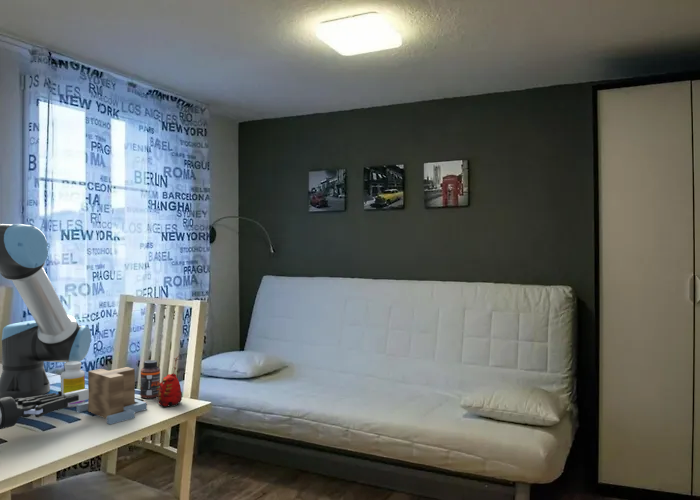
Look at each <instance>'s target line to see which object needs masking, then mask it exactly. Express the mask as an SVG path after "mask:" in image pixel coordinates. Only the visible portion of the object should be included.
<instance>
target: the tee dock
mask: <svg viewBox="0 0 700 500" xmlns="http://www.w3.org/2000/svg"><path fill="white" fill-rule="evenodd" d="M147 404H148V403H147V402H146V401H143V400H140V399H137V398H135V404H133V405H129V406H125V407H124V412H121V413H117V414H113V415H109V416H107V419H106V424H108V425H113V424H116V423H120V422H124V421H127V420H131V419H134V418H135V413H138V412H141V411H145V410H147ZM86 411H88V401H85V403H81V404H77V407H76V412H77V413H82V412H86Z"/></svg>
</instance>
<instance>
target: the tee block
mask: <svg viewBox="0 0 700 500" xmlns="http://www.w3.org/2000/svg"><path fill="white" fill-rule="evenodd" d="M135 372H136V369H135V368H133V367H129V366H126V367H121V368H120V367H119V368H115V369H111V370H107V369H103V368H99V369H92V370H88V371H87V373H88V374H87V375H88V376H87V377H88V378H87V381H88V382H87V385H88V386H87V387H88V388H87V389H89V399H87V400H88V401H87V402H88V410H87V411H88V413H90V412H91V413H90V414H93V415H96V416H98V417H101V418H104V419H106V420H107V416H109V415H113V414H117V413H121V412H124V407H125V406H129V405H133V404H135V399H136V393H135V392H136V389H135V388H136V387H135V386H136V385H135V379H136V376H135V375H136V373H135Z"/></svg>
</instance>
